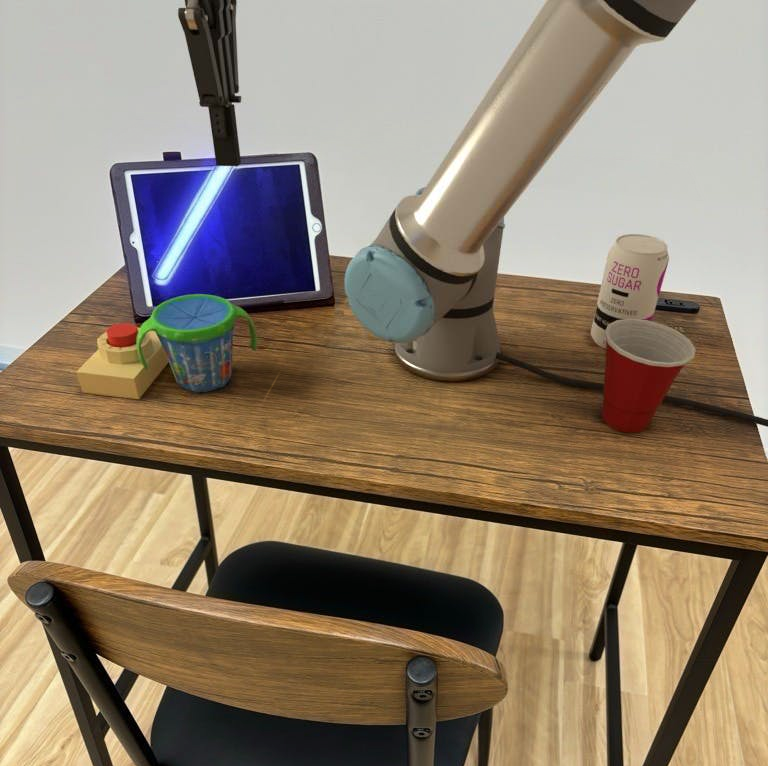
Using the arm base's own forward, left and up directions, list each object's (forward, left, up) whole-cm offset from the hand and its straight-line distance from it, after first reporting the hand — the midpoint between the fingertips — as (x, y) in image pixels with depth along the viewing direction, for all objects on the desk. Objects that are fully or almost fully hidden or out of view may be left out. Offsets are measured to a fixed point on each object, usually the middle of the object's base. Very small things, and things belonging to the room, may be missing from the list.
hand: (228, 163), depth 91 cm
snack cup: (+3, +10, -26) cm, 28 cm away
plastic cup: (-54, +8, -26) cm, 60 cm away
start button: (+14, +10, -21) cm, 27 cm away
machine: (+14, +10, -26) cm, 31 cm away
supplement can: (-54, -14, -26) cm, 61 cm away
